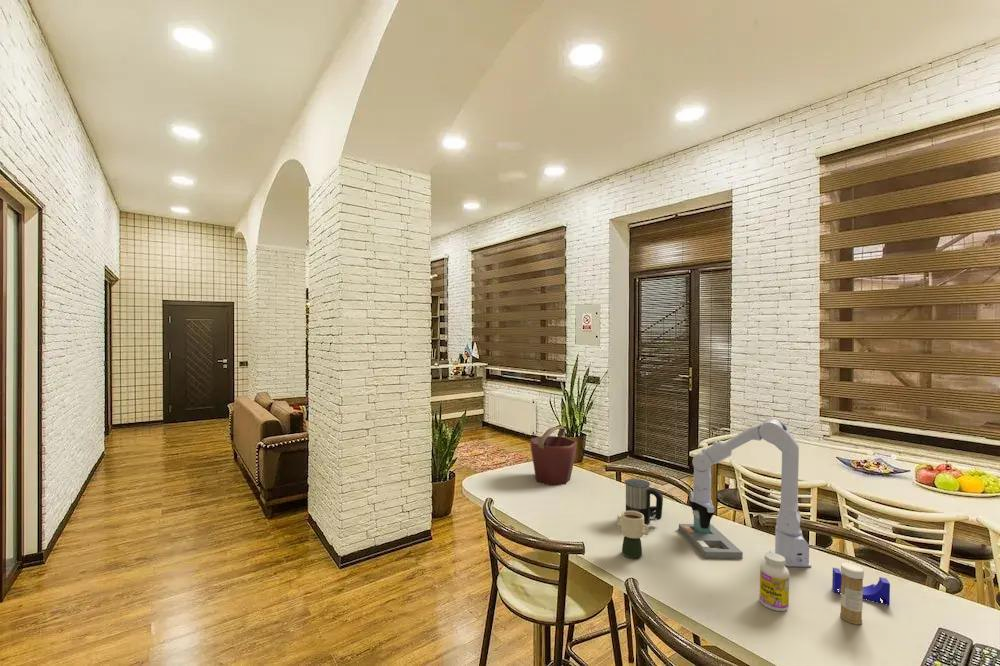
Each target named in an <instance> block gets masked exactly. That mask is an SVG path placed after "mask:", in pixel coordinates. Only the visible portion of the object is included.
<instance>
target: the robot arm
mask: <svg viewBox="0 0 1000 666" xmlns="http://www.w3.org/2000/svg"><path fill="white" fill-rule="evenodd" d="M753 440H754V441H762V440H764V441H766V442H767V443H770V444H772V445H774V446H775V447H776V448H777V449H778V451H779V450H780V452H781V475H780V476H781V482H780V483H781V484H780V486H781V487H780V504H779V505H780V506H779V510H778V515H777V517H776V521H775V523H776V525H775V531H774V532H775V533H774V536H775V538H774V540H775V541H774V544H775V545H774V547H775V548H774V550H771V549H770V550H768V553H776V554H779V555H781V556H783V557H784V558H785V565H784V566H785V567H798V568H799V567H803V568H804V567H805V568H807V567H808V568H809V567H810V568H811V567H812V564H811V563H810V545H809V543H808V541H806V539H805V538H804V535H803V531H802V529H801V525H800V524H801V521H802V515H801V514H802V513H800V511H799V510H800V509H799V502H798V499H799V496H798V495H799V460H800V459H799V457H800V447H799V444H798V442H797V441H796V439H795V438H794V436H793V434H791V432H790V431H789V428H788V426H787V425H786V424H784V423H783V422H782V421H781V420H778V419H777V418H768V419H765V420H764V421H763V422H762V421H761V422H758V423H756V424H754V425H752V426H749V427H748V428H747V429H745V430H743V431H741V432H740V433H739V434H737V435H735V436H734V437H732V438H731V439H729V440H727V441H723V440H719V441H717V440H715V441H714V442H712V444H711V446H709V447H707V448H703V449H701V451H699V452H697V454H696V455H694V456H693V458H692V463H691V464H692V466H693V483H692V484H693V486H692V488H693V491H690V497H689V501H688V502H689V505H690V507H691V509H692V511H693V510H698V512H699V516H700V523H701V528H703V529H708V527H709V523H710V524H711V520H712V519H713V516H714V515H715V513H716V510H715V506H714V505H713V501H712V498H711V497H712V473H711V472H712V466H713V465H716V464H718V463H720V462H722V461H724V460H725V459H727V458H729V457H731V456H732V453H733V452H732V451H733V450H735V449H737V448H739V447H742V445H744V444H746V443H748V442H750V441H753ZM692 515H693V516H694V514H693V513H692Z"/></svg>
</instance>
